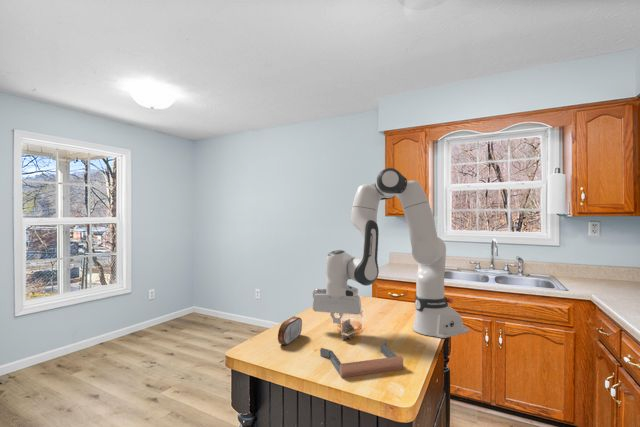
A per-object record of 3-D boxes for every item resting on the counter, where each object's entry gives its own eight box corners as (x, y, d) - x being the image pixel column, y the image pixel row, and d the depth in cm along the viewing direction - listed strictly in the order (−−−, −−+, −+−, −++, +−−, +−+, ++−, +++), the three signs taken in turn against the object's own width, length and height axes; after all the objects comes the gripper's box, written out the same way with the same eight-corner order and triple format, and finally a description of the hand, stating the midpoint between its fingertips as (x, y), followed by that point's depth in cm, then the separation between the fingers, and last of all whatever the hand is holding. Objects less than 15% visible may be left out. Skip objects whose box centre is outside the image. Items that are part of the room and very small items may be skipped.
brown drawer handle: (385, 347, 119) (385, 337, 119) (409, 368, 103) (409, 357, 103) (319, 355, 113) (319, 345, 113) (334, 378, 96) (334, 367, 96)
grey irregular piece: (357, 339, 128) (357, 320, 128) (347, 344, 123) (347, 325, 123) (350, 337, 130) (349, 318, 130) (340, 342, 125) (340, 323, 125)
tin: (296, 333, 133) (296, 313, 133) (303, 335, 132) (303, 314, 132) (277, 347, 120) (276, 324, 120) (284, 349, 118) (284, 325, 118)
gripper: (310, 290, 135) (310, 323, 135) (359, 292, 129) (360, 327, 129) (314, 287, 141) (314, 318, 141) (361, 289, 136) (362, 322, 136)
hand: (336, 323), depth 135 cm, fingers closed
